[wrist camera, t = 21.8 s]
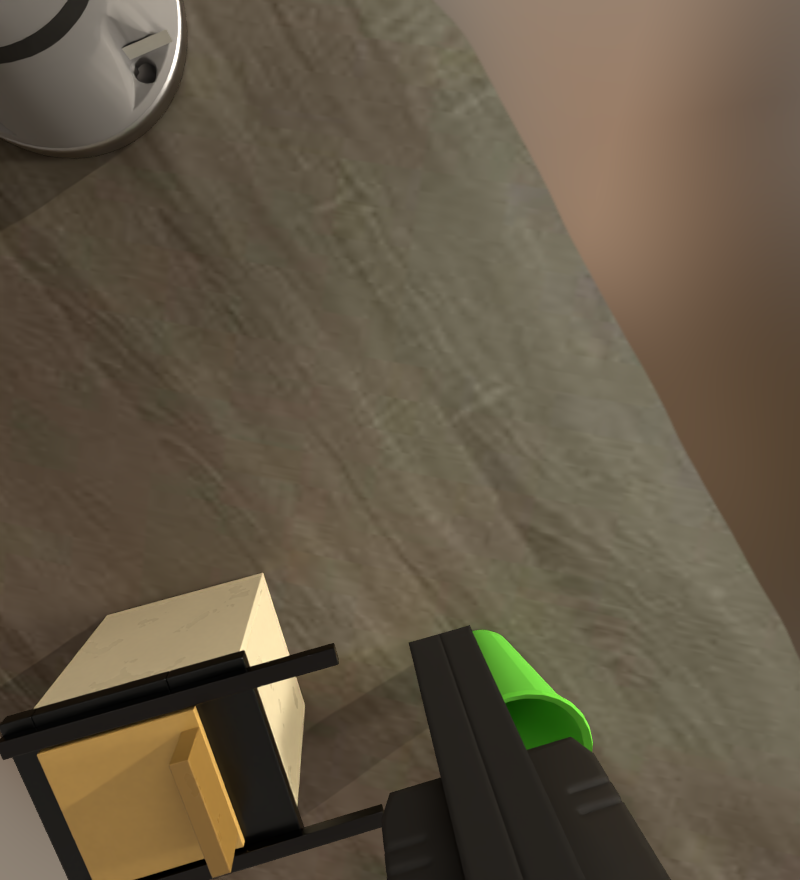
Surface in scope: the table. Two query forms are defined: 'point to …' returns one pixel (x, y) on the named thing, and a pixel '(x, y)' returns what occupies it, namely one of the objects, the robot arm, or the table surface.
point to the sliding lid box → (217, 702)
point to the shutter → (145, 798)
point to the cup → (531, 697)
